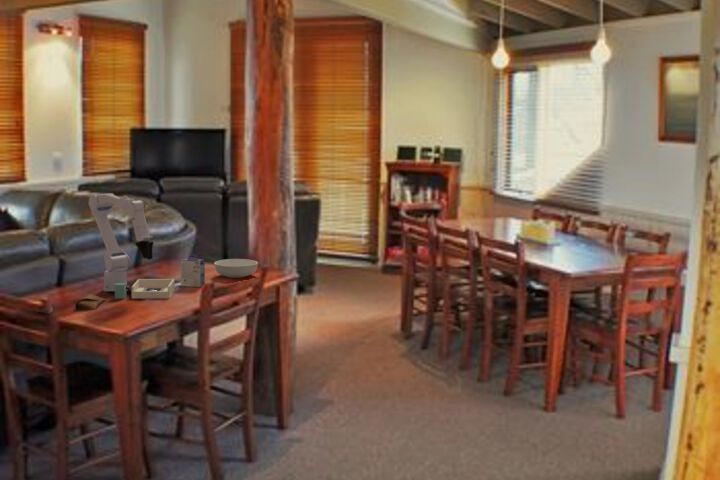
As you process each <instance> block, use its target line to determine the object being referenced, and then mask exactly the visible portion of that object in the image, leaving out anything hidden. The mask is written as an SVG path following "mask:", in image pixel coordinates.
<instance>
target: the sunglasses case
mask: <svg viewBox="0 0 720 480" xmlns="http://www.w3.org/2000/svg"><path fill="white" fill-rule="evenodd" d="M106 301H107V299H106V298H104V297H101V296H98V295H95V294H93V293H91V292H89V293H87V294H86V295H84V296H82V298H80V300H78V301H77V302H76V303H75V306H74V307H75V308H74V309H75V310H77V311H96V310H97V308H98V307H99V306H101V305H102V304H103V303H104V302H106Z"/></svg>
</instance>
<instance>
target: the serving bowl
mask: <svg viewBox="0 0 720 480" xmlns="http://www.w3.org/2000/svg"><path fill="white" fill-rule="evenodd" d="M213 264H214V269H215V271H216V272H217V273H218V274H219V275H220V276H222V277H227V278H230V279H241V278H245V277H247V276H251V275H253V274H254V273H255V272H256V271H257V269H258V265H259V262H258V261H257V260H253V259H246V258H229V259H220V260H217V261H215V262H214V263H213Z"/></svg>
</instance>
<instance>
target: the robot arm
mask: <svg viewBox="0 0 720 480" xmlns="http://www.w3.org/2000/svg"><path fill="white" fill-rule="evenodd" d="M114 205H115V206H117V208H118V209H120V210H121V211H125V212H127V214H128V217H129V219H130V220H131V222H132V225H133V226H132V227H133V230H134V235H135V238H136V239H135V240H136V242H135V243H134V244H135V246H137V248H138V249H139V251H140V253H141V256H142V258H143V259H147V261H148V260H152V259H153V255H154V254H153V248H154V247H153V246H154V241H150V239H151V238H154V236H153V235H150V231H149V228H148V227H149V226H148V223H147V220H146V216H145V215H146V214H145V212H146V204H145V202H144V200H142V199H138V200H135V198H130V197H128V195H123V196H121V197H119V196H117V195H114V193H111V192H109V193H108V192H106V193H99V194H95V193H94V194H91V195H90V196H89V198H88V206H89V209H90V211H91V214H92V215H93V216H94V219H95V220H94V221H95V223H96V225H97V227H98V229H99V230H98V231H99V233H100V235H101V239H102V241H103V244H104V246H105V249H106V252H105V254H104V256H103V259H104V266H105V269H106V270H105V271H104V274H103V281H104V282H103V284H104V285H103V286H104V290H103V291H104V292H115V284H116V283H126V286H127V287H128V285H127V284H128V283H127V280H128V279H127V270H128V268H129V267H130V265H131V259H130V256H129V255H128V254H127V252H126V250H125V249H123V248H121V247H120V246H119V243H118V241H117V239H116V235H115V233H114V230H113V228H112V226H111V223H110V219H109V217H108V215H109V214H110V213H111V212H112V209H113V207H114Z"/></svg>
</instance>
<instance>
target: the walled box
mask: <svg viewBox="0 0 720 480" xmlns="http://www.w3.org/2000/svg"><path fill="white" fill-rule="evenodd" d="M175 282H176V280H175V278H148V279H147V278H138V279H137V280H136V281H135V282H133V285H132V286H131V299H170V298H171V297H172V296H173V294H174V292H175V291H176V285H175V284H176V283H175ZM147 289H154V290H157V291H147Z"/></svg>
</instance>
